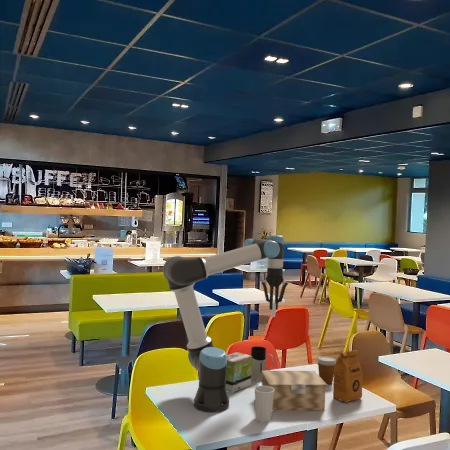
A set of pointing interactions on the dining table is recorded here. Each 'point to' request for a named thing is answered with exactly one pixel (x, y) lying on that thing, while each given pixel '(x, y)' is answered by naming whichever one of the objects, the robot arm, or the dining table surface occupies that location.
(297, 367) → the dining table surface
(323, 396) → the wooden box
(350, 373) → the coffee package
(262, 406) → the cup
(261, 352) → the glass holder
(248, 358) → the tea box
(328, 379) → the disposable coffee cup
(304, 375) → the box lid
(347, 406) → the dining table surface
